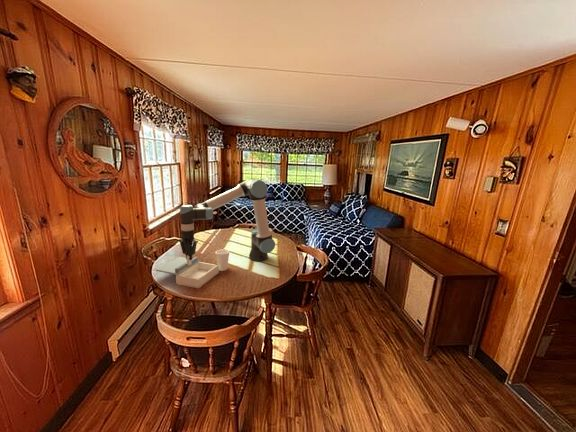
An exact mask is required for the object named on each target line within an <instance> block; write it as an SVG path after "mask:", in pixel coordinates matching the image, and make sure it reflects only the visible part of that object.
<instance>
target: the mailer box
mask: <svg viewBox="0 0 576 432" xmlns="http://www.w3.org/2000/svg"><path fill="white" fill-rule="evenodd" d="M219 271H220V270H219V268H218V265H217V264H213V263H208V262H203V261H199V262H197V263H196V264H194V265H193V266H191V267H189V268H188V269H186V270H184V271H183V272H181V273H179V274H178V275H175V282H176V285H179V286H183V287H189V288H194V289H200V288H201V287H203V286H204V285H206V284H207V283H208V282H209V281H210V280H212V279H214V277H215V276H217V275H218V274H220V272H219Z"/></svg>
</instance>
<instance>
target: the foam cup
mask: <svg viewBox="0 0 576 432" xmlns="http://www.w3.org/2000/svg"><path fill="white" fill-rule="evenodd" d="M229 256H230V250H229V249H222V248H221V249H218V250H216V251H215V260H216V265H218V268H219V271H220V272H221V271H222V272H223V271H227V270H228V264H229V258H230V257H229Z"/></svg>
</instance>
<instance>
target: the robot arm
mask: <svg viewBox="0 0 576 432" xmlns="http://www.w3.org/2000/svg"><path fill="white" fill-rule="evenodd" d="M268 190H269V188H268V185H267V184H266V182H264V181H263V180H262V179H256V178H249V179H246V180H244V181H243V182H240V183H238V184H237V186H235V187H234V188H232V189H229V190H226V191H225V192H223V193H220V194H219V195H216V196H214V197H212V198H210V199H208V200H205V201H204V202H202V203H197V204H195V206H193V205H192V204H186V205H185V204H184V205H181V206H180V207H179V214H180V215H179V216H180V231H181V238H179V239H178V242H179V244H180V248H181V251H182V254H183V255H185V258H186V260H187V265H190V264H192V259H193V256H194V255H196V251H197V250H196V249H197V245H198V243H199V241H198V240H196V239H195V229H194V228H195V226H194V225H195V223H194V221H199V220H200V221H201V220H205V221H206V220H212V219H213V218H214V210H217V209H218V208H220V207H222V206H225V205H226V204H228V203H231V202H232V201H234V200H236V199H238V198H241V197H246V196H249V200H250V201H251V202H252V206H253V211H254V217H255V218H254V219H255V224H256V229H255V230H252V231H251V236H250V237H251V239H250V240H251V242H250V243H251V245H250V247H251V248H250V252H249V254H248V259H249V260H250V261H253V262H263V261H266V260H268V258H269V254H270V253H271V252H273V250H274V249H275V248H276V241H275V240H274V239H273V235H272V233H273V232H271V231H270V228H269V220H268V213H267V206H266V200H267V193H268Z"/></svg>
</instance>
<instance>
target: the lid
mask: <svg viewBox="0 0 576 432" xmlns="http://www.w3.org/2000/svg"><path fill="white" fill-rule="evenodd" d="M197 262H200V260H199V256H194V257H192V264H190V265H187V260H186V257H182V256H179V257H177V258H174V259H173V260H171V261H169V262H167V263H165V264H163V265H162V266H159V267H158V268H156V269H155V272H159V273H163V274H164V273H165V274H170V275H175V276H176V275H178V274H179V273H181V272H183V271H184V270H186V269H188V268H189V267H191V266H193V265H194V264H196V263H197Z"/></svg>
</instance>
